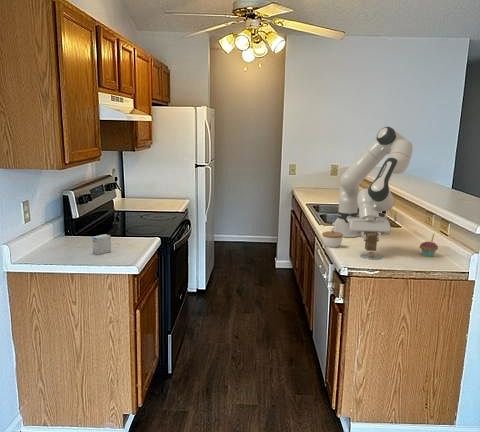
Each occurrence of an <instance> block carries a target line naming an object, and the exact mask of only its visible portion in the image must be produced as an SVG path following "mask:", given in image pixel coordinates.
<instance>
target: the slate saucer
mask: <svg viewBox="0 0 480 432" xmlns="http://www.w3.org/2000/svg"><path fill="white" fill-rule="evenodd" d="M359 257H360V258H362V259H364V260H370V261H379V260H383V258H384V257H383V256H382V255H379V254H375V251H368V253H362V254H360V255H359Z"/></svg>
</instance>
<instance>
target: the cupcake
mask: <svg viewBox="0 0 480 432" xmlns="http://www.w3.org/2000/svg"><path fill="white" fill-rule="evenodd" d="M434 237H435V233H433V234H432V236H431V240H430V241H424V242H422V243H420V245H419V249H420V250H421V251H422V255H423V256H424V257H430V258H431V257H433V256H434V255H435V252H436V251H438V249H439V246H438V244H436V243H435V242H433V241H434Z"/></svg>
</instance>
